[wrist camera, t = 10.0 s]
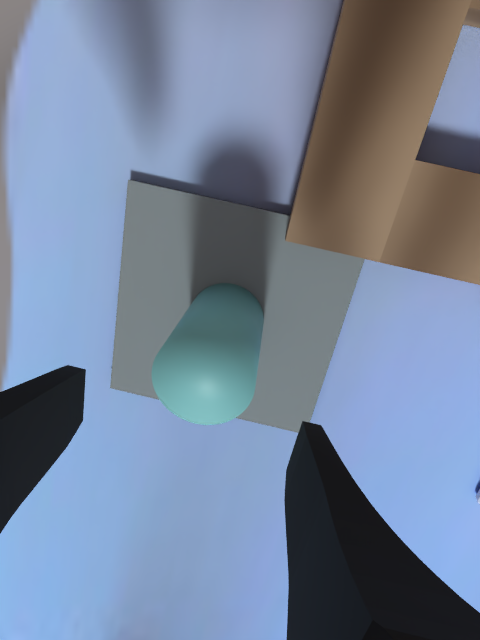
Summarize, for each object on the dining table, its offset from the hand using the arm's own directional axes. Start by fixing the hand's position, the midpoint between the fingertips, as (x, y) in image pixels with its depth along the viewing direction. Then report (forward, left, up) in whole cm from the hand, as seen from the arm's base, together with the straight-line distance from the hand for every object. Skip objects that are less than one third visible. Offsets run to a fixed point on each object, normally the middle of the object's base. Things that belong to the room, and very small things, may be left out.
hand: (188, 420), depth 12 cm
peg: (0, 0, -9) cm, 9 cm away
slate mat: (0, 0, -9) cm, 9 cm away
